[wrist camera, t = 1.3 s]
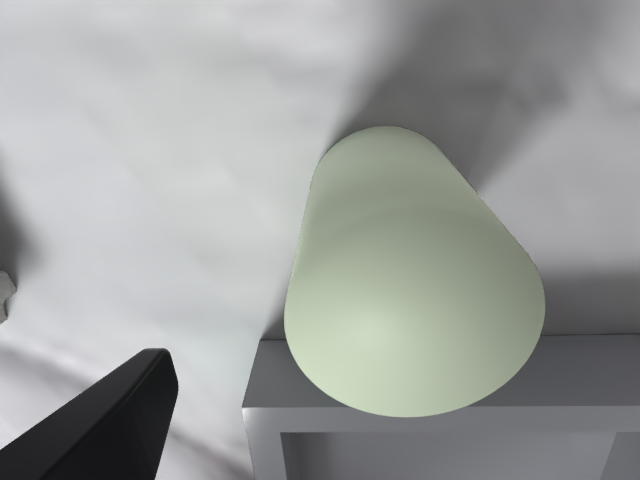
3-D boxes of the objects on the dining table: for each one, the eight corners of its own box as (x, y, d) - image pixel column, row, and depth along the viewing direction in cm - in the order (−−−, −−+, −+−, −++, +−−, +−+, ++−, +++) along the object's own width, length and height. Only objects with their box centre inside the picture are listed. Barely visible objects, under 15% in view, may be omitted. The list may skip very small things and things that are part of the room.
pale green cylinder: (314, 264, 16) (295, 417, 9) (303, 129, 14) (270, 212, 7) (449, 260, 15) (523, 416, 9) (461, 121, 13) (569, 201, 7)
